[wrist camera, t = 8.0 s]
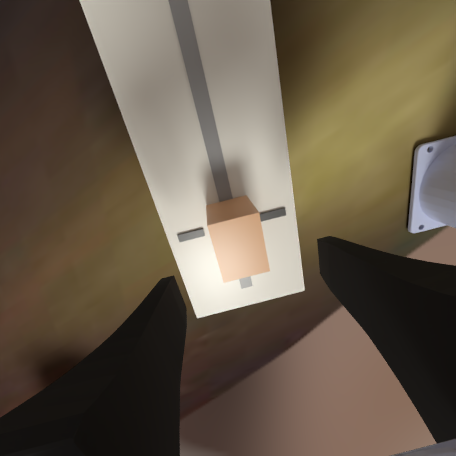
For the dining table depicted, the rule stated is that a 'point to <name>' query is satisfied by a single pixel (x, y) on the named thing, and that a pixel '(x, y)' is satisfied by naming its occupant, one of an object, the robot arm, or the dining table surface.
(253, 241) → the fader tab
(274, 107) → the panel
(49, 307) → the dining table surface
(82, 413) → the robot arm
